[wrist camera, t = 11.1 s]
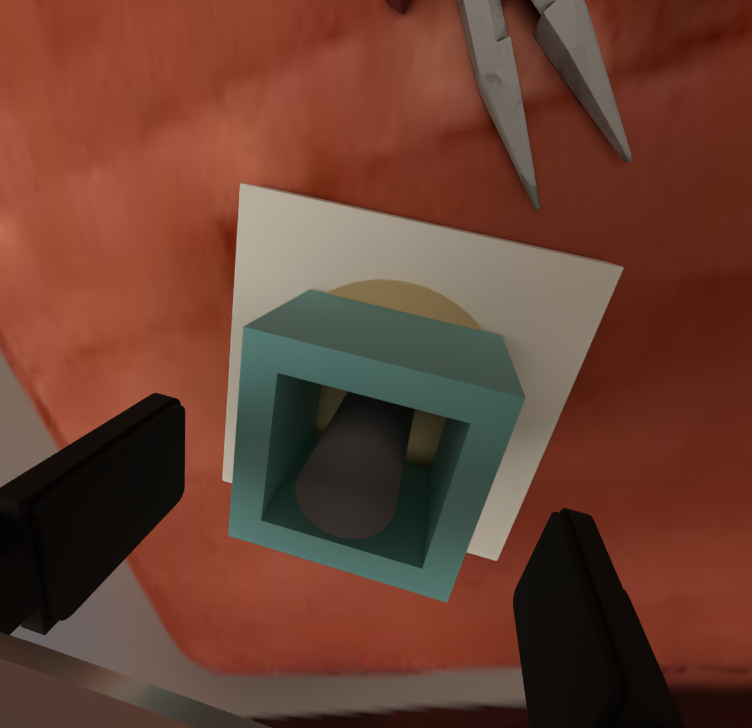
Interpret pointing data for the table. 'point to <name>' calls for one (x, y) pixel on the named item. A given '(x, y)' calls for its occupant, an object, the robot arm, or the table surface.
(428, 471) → the collar
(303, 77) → the table surface
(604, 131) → the pliers
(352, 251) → the post stand
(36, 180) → the table surface
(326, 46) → the table surface
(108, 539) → the robot arm
